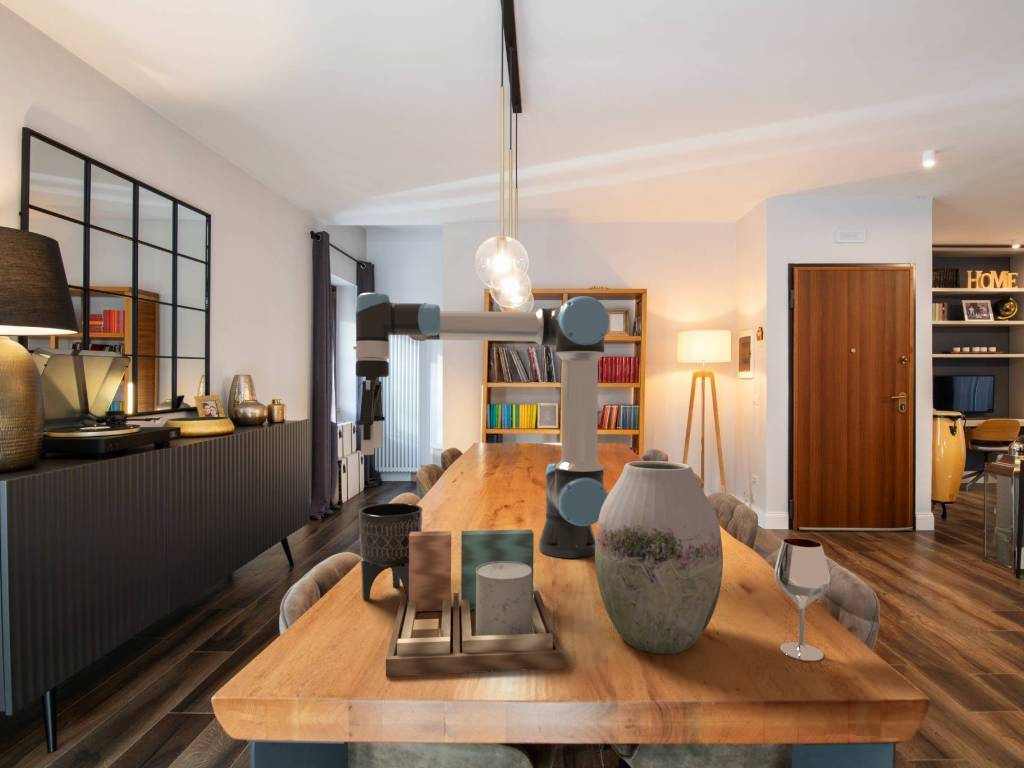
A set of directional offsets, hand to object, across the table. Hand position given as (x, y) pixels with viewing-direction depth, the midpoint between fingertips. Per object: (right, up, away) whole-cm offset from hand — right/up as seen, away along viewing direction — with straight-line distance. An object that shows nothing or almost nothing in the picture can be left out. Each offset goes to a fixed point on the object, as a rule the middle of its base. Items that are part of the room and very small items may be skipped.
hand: (371, 451), depth 135 cm
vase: (+58, -29, -35) cm, 73 cm away
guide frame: (+26, -28, -33) cm, 51 cm away
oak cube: (+18, -28, -39) cm, 52 cm away
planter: (+8, -28, -15) cm, 33 cm away
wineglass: (+80, -29, -40) cm, 94 cm away
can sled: (+31, -28, -33) cm, 53 cm away
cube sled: (+18, -28, -34) cm, 47 cm away
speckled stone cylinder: (+31, -28, -37) cm, 56 cm away
